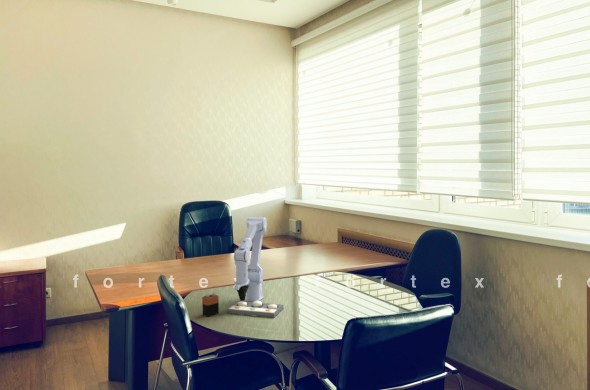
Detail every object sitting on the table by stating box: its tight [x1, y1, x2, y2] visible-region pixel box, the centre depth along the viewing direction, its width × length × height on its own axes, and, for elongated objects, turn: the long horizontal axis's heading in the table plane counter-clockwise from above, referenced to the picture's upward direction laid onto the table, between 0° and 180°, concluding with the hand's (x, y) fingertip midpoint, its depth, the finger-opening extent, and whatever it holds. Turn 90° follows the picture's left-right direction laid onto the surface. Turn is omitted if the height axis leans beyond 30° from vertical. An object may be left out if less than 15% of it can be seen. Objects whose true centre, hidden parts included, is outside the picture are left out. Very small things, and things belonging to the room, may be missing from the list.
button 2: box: [253, 300, 263, 308], centre depth 237 cm, size 4×4×2 cm
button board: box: [227, 300, 284, 319], centre depth 235 cm, size 14×24×2 cm, turn 73°
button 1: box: [238, 301, 248, 306], centre depth 239 cm, size 4×4×2 cm
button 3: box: [268, 303, 277, 309], centre depth 235 cm, size 4×4×2 cm
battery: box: [201, 292, 220, 318], centre depth 230 cm, size 4×7×10 cm, turn 135°
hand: (242, 300), depth 239 cm, fingers closed
